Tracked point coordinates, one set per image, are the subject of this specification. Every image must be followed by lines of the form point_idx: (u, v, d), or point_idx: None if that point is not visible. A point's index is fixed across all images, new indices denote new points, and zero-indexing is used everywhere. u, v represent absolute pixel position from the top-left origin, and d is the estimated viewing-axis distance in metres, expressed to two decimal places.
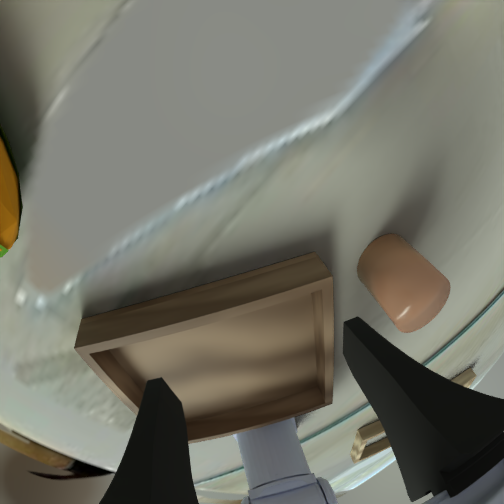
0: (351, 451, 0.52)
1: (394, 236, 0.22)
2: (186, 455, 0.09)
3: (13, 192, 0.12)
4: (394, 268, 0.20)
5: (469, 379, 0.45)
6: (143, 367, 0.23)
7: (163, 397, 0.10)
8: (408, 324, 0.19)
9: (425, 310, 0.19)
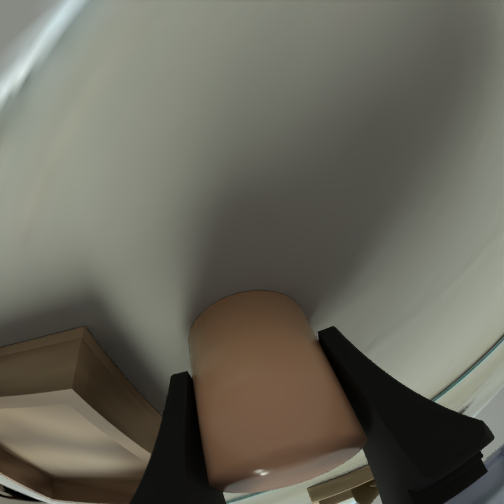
0: None
1: (257, 298, 0.11)
2: None
3: None
4: (214, 388, 0.08)
5: None
6: None
7: (190, 391, 0.10)
8: (258, 487, 0.08)
9: (299, 471, 0.08)
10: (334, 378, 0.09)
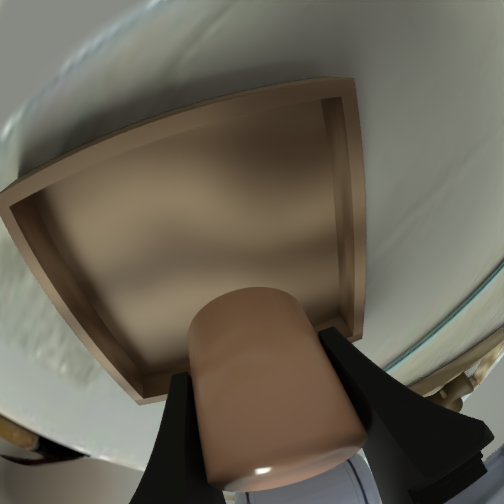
0: None
1: (258, 294, 0.11)
2: None
3: None
4: (214, 383, 0.08)
5: (502, 339, 0.37)
6: (91, 258, 0.16)
7: (189, 391, 0.10)
8: (256, 486, 0.08)
9: (298, 470, 0.08)
10: (335, 375, 0.09)
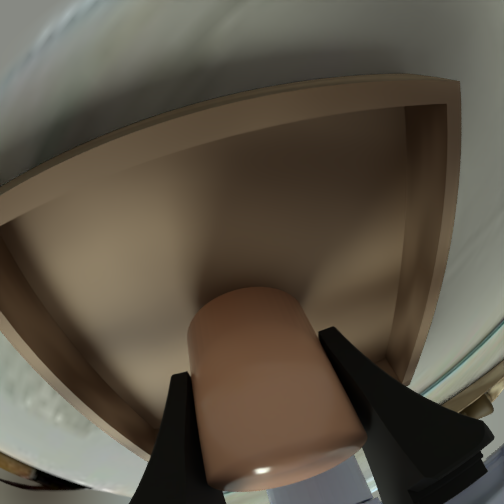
0: None
1: (258, 294, 0.11)
2: None
3: None
4: (214, 383, 0.08)
5: None
6: (83, 311, 0.11)
7: (190, 391, 0.10)
8: (255, 486, 0.08)
9: (297, 470, 0.08)
10: (335, 375, 0.09)
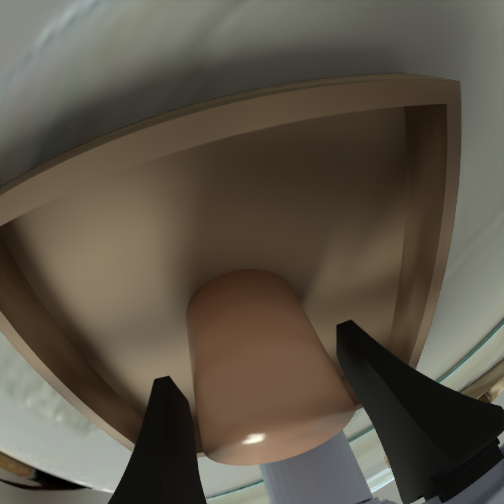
0: None
1: (252, 275, 0.12)
2: (193, 454, 0.09)
3: None
4: (210, 354, 0.09)
5: None
6: (83, 311, 0.11)
7: (171, 395, 0.10)
8: (249, 458, 0.09)
9: (289, 441, 0.09)
10: (323, 349, 0.10)
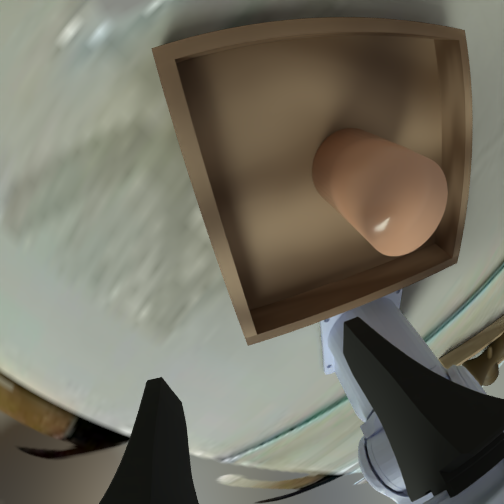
0: None
1: None
2: (186, 455, 0.09)
3: None
4: (357, 153, 0.13)
5: None
6: (235, 150, 0.15)
7: (163, 397, 0.10)
8: (388, 239, 0.13)
9: (413, 218, 0.13)
10: None
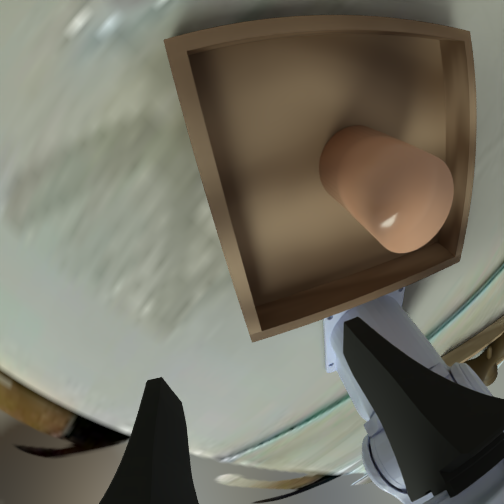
0: None
1: (367, 127, 0.16)
2: (186, 455, 0.09)
3: None
4: (364, 151, 0.13)
5: None
6: (243, 144, 0.15)
7: (163, 397, 0.10)
8: (395, 236, 0.13)
9: (420, 215, 0.13)
10: None
